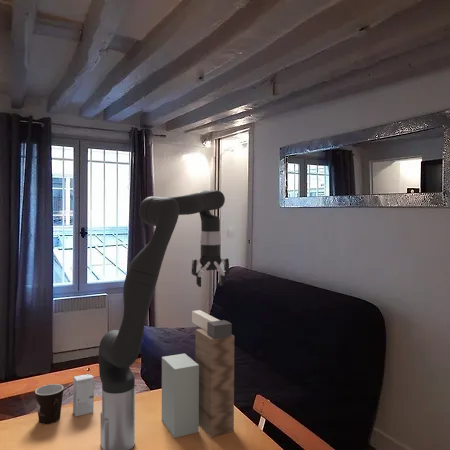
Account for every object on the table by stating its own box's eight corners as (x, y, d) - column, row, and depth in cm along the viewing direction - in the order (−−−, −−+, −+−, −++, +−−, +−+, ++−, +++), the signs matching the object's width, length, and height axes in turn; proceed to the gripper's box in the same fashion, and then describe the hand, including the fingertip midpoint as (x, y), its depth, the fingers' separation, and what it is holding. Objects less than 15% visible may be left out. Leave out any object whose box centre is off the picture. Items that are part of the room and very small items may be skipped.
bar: (214, 338, 124) (214, 325, 124) (188, 322, 143) (188, 311, 143) (231, 336, 127) (231, 323, 127) (203, 320, 146) (203, 309, 146)
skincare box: (75, 417, 137) (75, 381, 136) (72, 411, 140) (72, 376, 140) (94, 412, 140) (94, 377, 140) (90, 407, 144) (90, 372, 143)
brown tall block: (210, 437, 125) (211, 339, 124) (195, 419, 135) (195, 329, 135) (233, 431, 128) (234, 335, 128) (216, 414, 139) (217, 326, 138)
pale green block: (174, 438, 124) (174, 369, 124) (161, 420, 135) (161, 357, 134) (198, 431, 128) (199, 365, 127) (184, 415, 138) (184, 353, 138)
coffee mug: (37, 415, 138) (37, 385, 137) (64, 411, 140) (64, 382, 140) (31, 432, 126) (31, 400, 126) (61, 428, 129) (61, 397, 129)
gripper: (194, 244, 149) (194, 288, 149) (231, 243, 153) (231, 286, 154) (189, 243, 156) (189, 285, 156) (225, 242, 160) (225, 283, 161)
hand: (210, 286), depth 155 cm, fingers open, 8 cm apart
